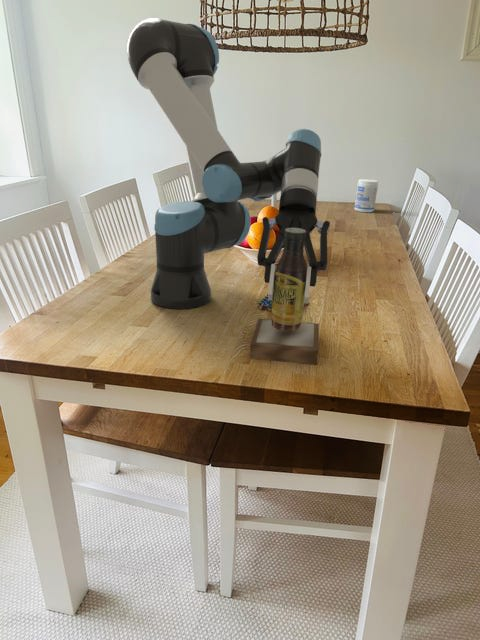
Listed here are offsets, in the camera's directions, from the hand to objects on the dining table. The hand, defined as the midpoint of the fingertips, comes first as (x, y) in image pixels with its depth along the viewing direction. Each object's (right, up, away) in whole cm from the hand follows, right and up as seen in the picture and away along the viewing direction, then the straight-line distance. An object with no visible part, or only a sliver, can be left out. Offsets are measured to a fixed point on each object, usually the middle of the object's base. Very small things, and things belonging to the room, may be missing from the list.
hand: (288, 298), depth 93 cm
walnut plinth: (0, -10, +8) cm, 12 cm away
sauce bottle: (0, -6, +6) cm, 8 cm away
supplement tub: (+52, +50, +149) cm, 165 cm away
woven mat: (+2, -1, +29) cm, 29 cm away
